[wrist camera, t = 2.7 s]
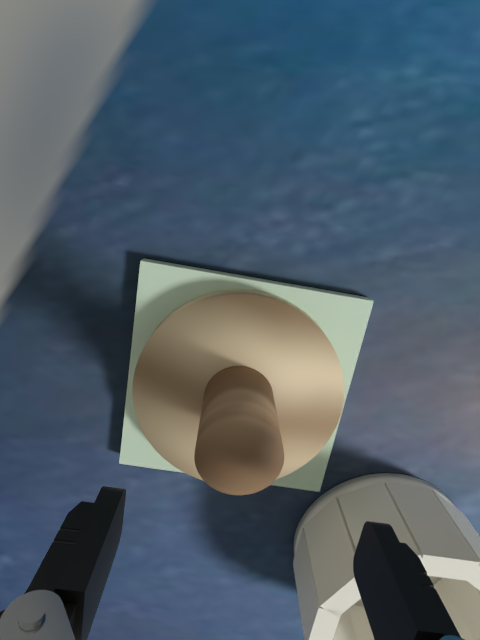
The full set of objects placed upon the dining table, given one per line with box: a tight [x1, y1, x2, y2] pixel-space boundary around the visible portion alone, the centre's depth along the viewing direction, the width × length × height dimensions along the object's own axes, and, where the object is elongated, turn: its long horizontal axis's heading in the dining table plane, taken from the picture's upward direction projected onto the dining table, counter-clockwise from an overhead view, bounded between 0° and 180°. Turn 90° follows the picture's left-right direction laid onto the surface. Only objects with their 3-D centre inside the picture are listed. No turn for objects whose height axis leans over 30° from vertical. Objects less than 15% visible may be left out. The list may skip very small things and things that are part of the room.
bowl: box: [293, 473, 480, 640], centre depth 23 cm, size 11×11×6 cm
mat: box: [119, 258, 374, 492], centre depth 22 cm, size 12×12×1 cm
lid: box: [132, 289, 345, 495], centre depth 19 cm, size 11×11×6 cm
